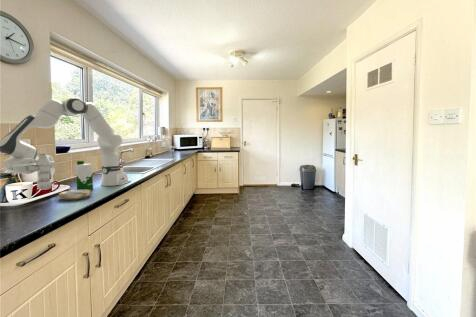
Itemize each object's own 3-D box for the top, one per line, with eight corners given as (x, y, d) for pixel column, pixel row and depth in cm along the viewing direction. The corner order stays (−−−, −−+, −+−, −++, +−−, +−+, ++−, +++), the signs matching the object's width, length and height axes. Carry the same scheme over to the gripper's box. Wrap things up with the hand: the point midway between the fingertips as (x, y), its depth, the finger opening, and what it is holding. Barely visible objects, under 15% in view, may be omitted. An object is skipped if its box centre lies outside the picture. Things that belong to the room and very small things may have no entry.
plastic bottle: (44, 191, 139) (42, 155, 137) (34, 190, 140) (31, 154, 138) (54, 188, 145) (53, 154, 143) (45, 187, 147) (43, 153, 144)
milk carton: (82, 188, 177) (81, 160, 175) (95, 188, 177) (94, 160, 175) (74, 191, 169) (72, 161, 167) (87, 191, 168) (86, 161, 167)
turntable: (77, 191, 162) (77, 188, 162) (96, 193, 157) (96, 190, 157) (52, 197, 147) (52, 194, 146) (73, 200, 142) (72, 196, 142)
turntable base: (76, 195, 159) (76, 192, 159) (91, 196, 156) (91, 194, 156) (58, 199, 148) (58, 197, 148) (73, 201, 144) (73, 198, 144)
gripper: (5, 162, 135) (23, 163, 131) (44, 158, 154) (61, 159, 150) (6, 174, 136) (24, 175, 131) (45, 168, 155) (62, 170, 151)
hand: (44, 167), depth 141 cm, fingers closed on plastic bottle, 6 cm apart
